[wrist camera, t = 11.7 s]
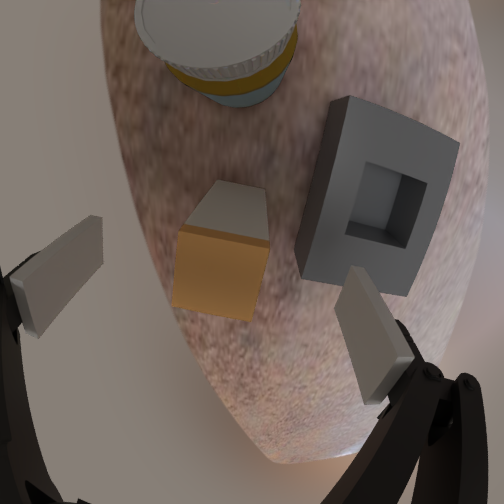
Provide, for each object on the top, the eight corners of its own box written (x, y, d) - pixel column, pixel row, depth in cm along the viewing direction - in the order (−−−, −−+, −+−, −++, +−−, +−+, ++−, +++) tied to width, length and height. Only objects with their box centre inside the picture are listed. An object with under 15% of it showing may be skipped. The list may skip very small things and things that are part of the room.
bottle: (253, 123, 23) (244, 115, 9) (183, 84, 21) (91, 43, 8) (297, 59, 20) (346, -19, 7) (227, 22, 19) (191, -78, 5)
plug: (217, 179, 25) (178, 231, 13) (264, 188, 25) (270, 249, 13) (209, 224, 26) (171, 306, 15) (254, 233, 27) (251, 321, 15)
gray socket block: (330, 101, 22) (350, 95, 17) (426, 137, 22) (460, 142, 17) (293, 249, 27) (301, 278, 22) (385, 268, 28) (406, 296, 23)
